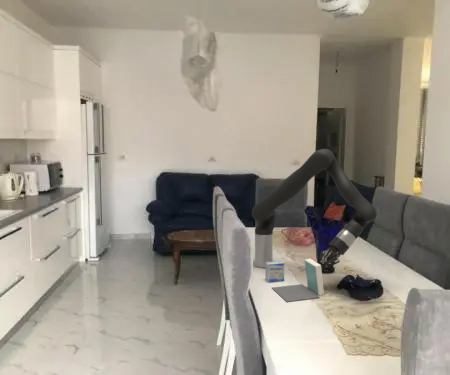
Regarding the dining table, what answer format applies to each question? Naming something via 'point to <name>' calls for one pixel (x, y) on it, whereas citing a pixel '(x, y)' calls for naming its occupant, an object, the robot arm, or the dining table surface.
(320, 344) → the dining table surface
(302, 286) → the mat
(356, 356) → the dining table surface
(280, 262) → the medicine box
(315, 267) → the white and teal block
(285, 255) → the dining table surface
